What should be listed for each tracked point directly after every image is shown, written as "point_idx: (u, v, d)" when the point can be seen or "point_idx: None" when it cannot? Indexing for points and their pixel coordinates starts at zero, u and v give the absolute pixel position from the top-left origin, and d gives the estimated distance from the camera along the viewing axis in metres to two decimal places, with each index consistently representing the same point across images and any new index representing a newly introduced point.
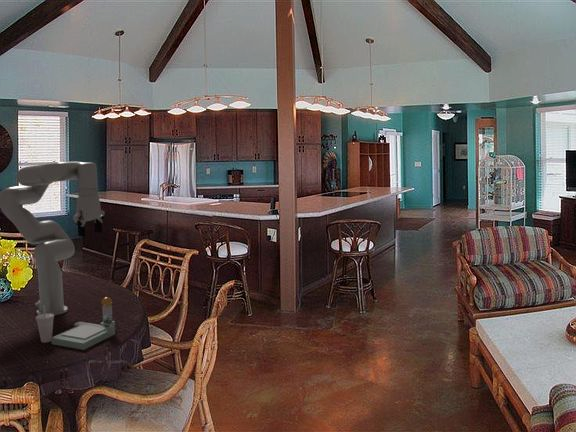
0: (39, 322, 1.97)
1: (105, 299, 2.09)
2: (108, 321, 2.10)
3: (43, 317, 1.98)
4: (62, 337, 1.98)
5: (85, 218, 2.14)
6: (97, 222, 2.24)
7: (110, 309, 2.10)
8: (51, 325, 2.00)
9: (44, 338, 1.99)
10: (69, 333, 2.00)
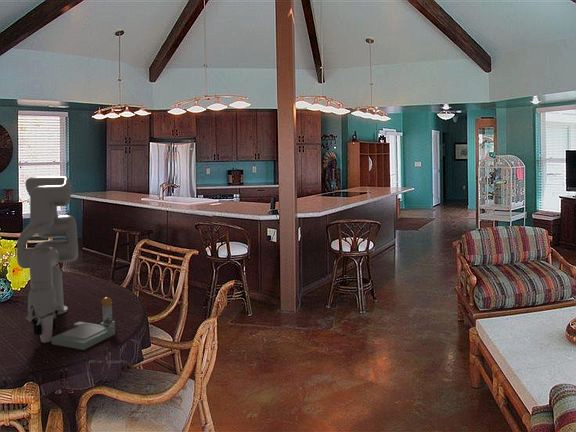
0: None
1: (105, 299, 2.09)
2: (108, 321, 2.10)
3: (43, 317, 1.98)
4: (62, 337, 1.98)
5: (37, 314, 1.94)
6: None
7: (110, 309, 2.10)
8: (51, 325, 2.00)
9: (44, 338, 1.99)
10: (69, 333, 2.00)
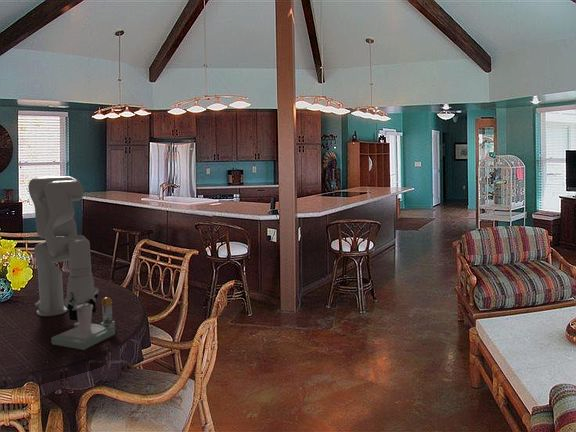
0: (79, 312, 2.00)
1: (105, 299, 2.09)
2: (108, 321, 2.10)
3: (83, 307, 2.00)
4: (62, 337, 1.98)
5: (77, 301, 1.96)
6: (90, 301, 2.05)
7: (110, 309, 2.10)
8: (90, 315, 2.02)
9: (84, 328, 2.01)
10: (69, 333, 2.00)
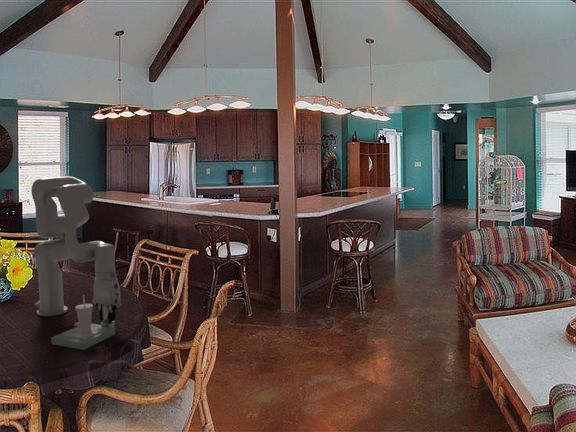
0: (79, 312, 2.00)
1: None
2: (108, 321, 2.10)
3: (83, 307, 2.00)
4: (62, 337, 1.98)
5: (94, 299, 2.10)
6: None
7: None
8: (90, 315, 2.02)
9: (84, 328, 2.01)
10: (69, 333, 2.00)
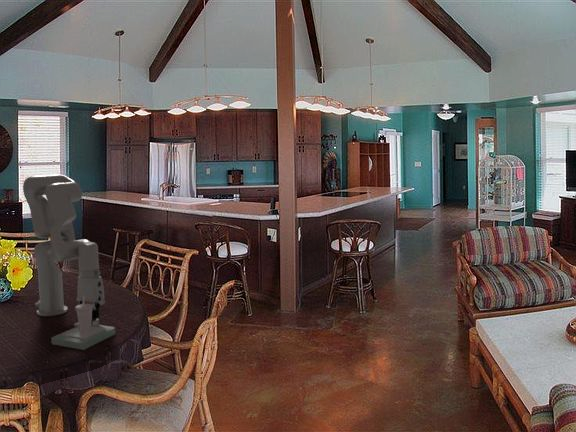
0: (79, 312, 2.00)
1: None
2: None
3: (83, 307, 2.00)
4: (62, 337, 1.98)
5: (78, 297, 2.13)
6: None
7: None
8: (90, 315, 2.02)
9: (84, 328, 2.01)
10: (69, 333, 2.00)
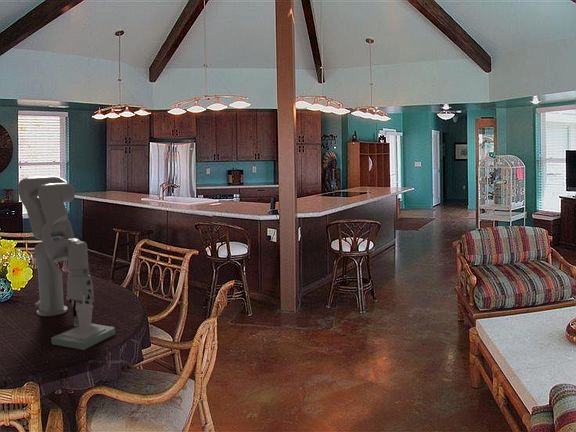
0: (79, 312, 2.00)
1: None
2: None
3: (83, 307, 2.00)
4: (62, 337, 1.98)
5: (67, 296, 2.15)
6: None
7: None
8: (90, 315, 2.02)
9: (84, 328, 2.01)
10: (69, 333, 2.00)
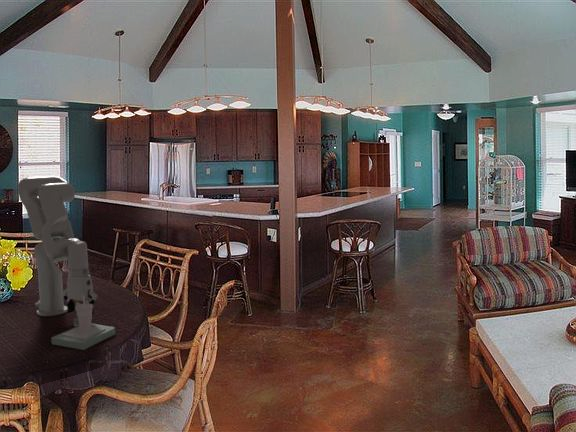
0: (79, 312, 2.00)
1: None
2: None
3: (83, 307, 2.00)
4: (62, 337, 1.98)
5: (67, 295, 2.15)
6: None
7: None
8: (90, 315, 2.02)
9: (84, 328, 2.01)
10: (69, 333, 2.00)
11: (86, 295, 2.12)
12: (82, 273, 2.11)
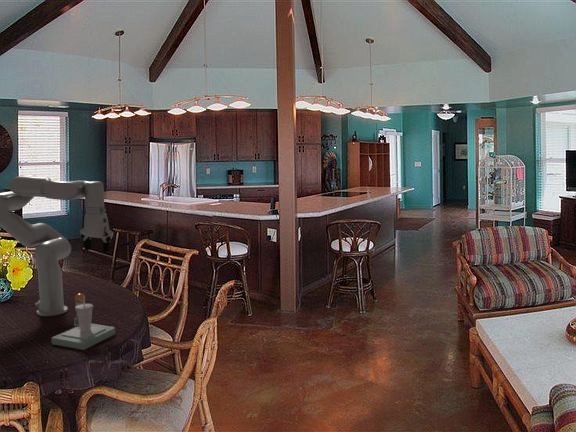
0: (79, 312, 2.00)
1: (78, 295, 2.14)
2: None
3: (83, 307, 2.00)
4: (62, 337, 1.98)
5: (84, 233, 2.26)
6: None
7: None
8: (90, 315, 2.02)
9: (84, 328, 2.01)
10: (69, 333, 2.00)
11: (103, 232, 2.22)
12: (99, 211, 2.22)
